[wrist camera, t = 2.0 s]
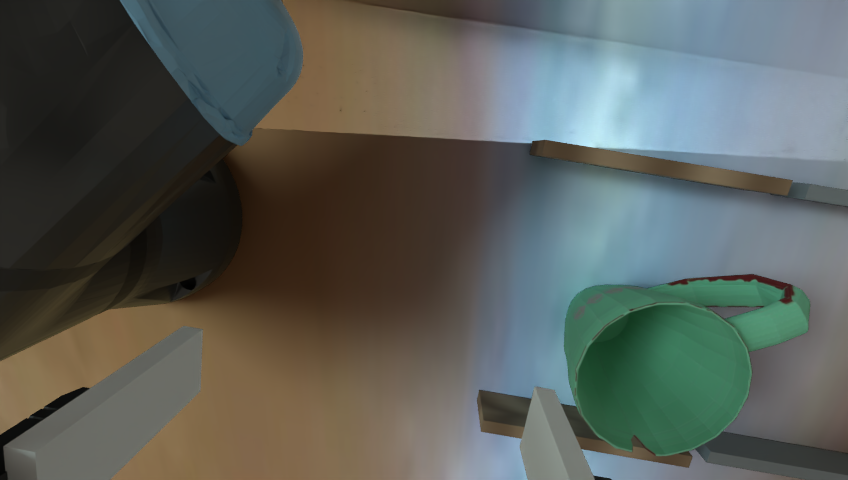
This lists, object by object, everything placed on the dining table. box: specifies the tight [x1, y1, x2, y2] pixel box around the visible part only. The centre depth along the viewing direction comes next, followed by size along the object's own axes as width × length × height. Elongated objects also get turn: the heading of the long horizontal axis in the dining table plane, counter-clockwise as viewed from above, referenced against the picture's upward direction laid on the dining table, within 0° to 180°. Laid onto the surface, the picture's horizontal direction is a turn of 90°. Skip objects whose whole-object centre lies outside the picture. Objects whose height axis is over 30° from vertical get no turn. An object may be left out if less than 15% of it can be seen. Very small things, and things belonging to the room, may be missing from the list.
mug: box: [564, 274, 810, 456], centre depth 28 cm, size 15×10×10 cm
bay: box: [477, 140, 793, 468], centre depth 30 cm, size 16×22×4 cm
